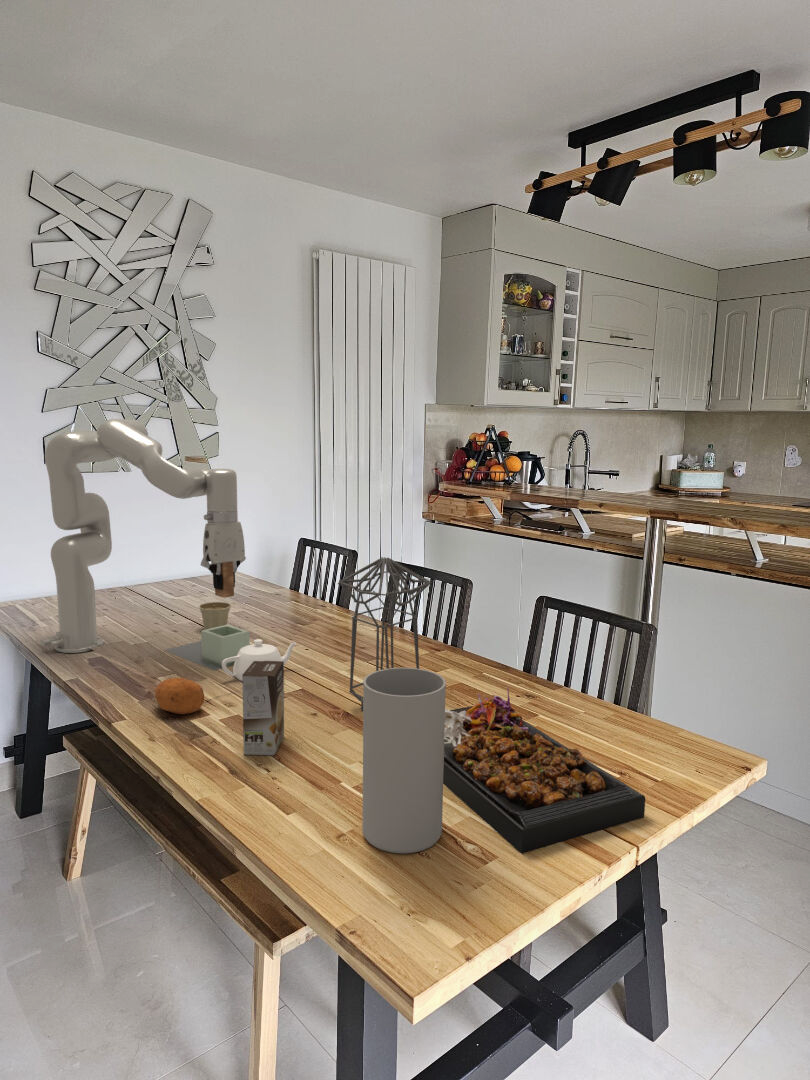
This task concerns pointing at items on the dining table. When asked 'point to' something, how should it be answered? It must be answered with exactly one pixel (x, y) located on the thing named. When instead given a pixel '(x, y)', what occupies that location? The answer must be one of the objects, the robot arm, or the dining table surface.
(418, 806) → the cylinder vase
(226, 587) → the brown wooden block
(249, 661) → the teapot
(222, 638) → the square sage planter
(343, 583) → the geometric lantern
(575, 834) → the food platter
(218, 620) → the flower pot
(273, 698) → the coffee box
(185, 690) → the potato
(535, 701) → the dining table surface
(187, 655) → the slate board
